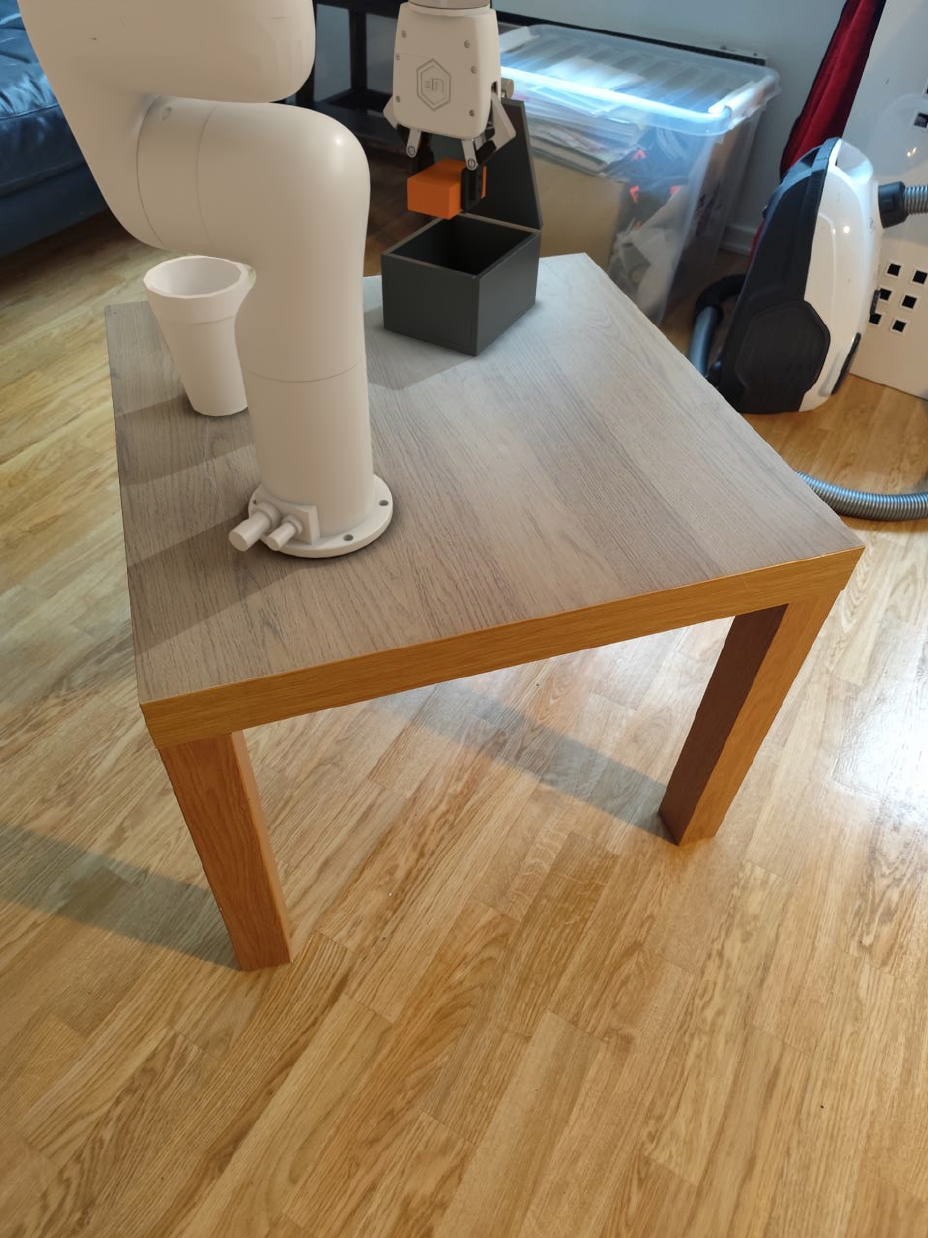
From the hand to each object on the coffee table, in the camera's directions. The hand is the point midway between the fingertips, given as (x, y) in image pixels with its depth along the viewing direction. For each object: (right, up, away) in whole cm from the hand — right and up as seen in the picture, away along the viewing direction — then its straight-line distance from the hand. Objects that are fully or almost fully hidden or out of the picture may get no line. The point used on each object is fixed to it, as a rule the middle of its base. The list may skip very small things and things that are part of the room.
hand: (447, 198), depth 87 cm
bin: (+1, -8, +13) cm, 15 cm away
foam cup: (-24, -22, -2) cm, 32 cm away
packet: (0, 0, 0) cm, 0 cm away
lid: (+4, +6, +3) cm, 8 cm away
